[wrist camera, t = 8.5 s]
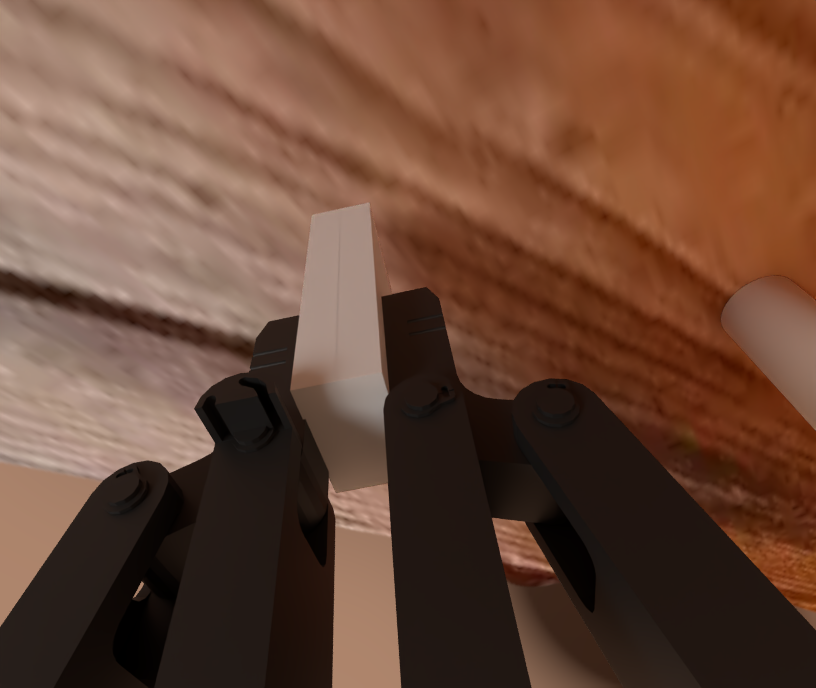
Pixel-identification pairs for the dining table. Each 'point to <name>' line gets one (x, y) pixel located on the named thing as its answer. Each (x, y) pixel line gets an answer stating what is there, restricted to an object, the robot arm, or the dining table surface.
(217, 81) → the dining table surface
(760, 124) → the dining table surface
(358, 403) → the robot arm
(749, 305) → the post
